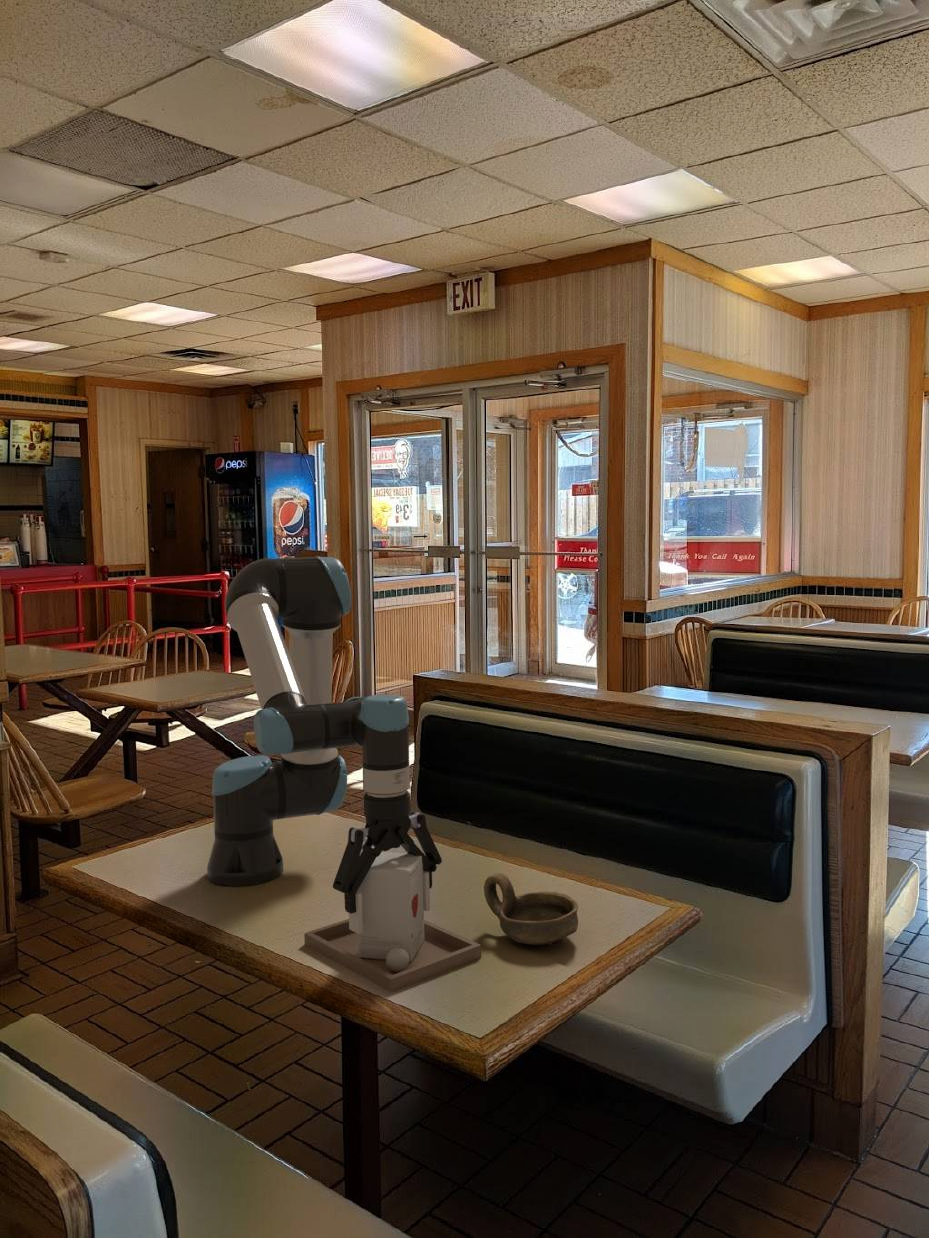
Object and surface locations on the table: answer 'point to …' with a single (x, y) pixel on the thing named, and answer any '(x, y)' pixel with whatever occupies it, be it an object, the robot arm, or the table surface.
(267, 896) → the table surface
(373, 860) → the robot arm
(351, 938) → the tray
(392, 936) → the supplement box
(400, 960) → the ball
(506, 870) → the table surface
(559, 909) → the bowl
